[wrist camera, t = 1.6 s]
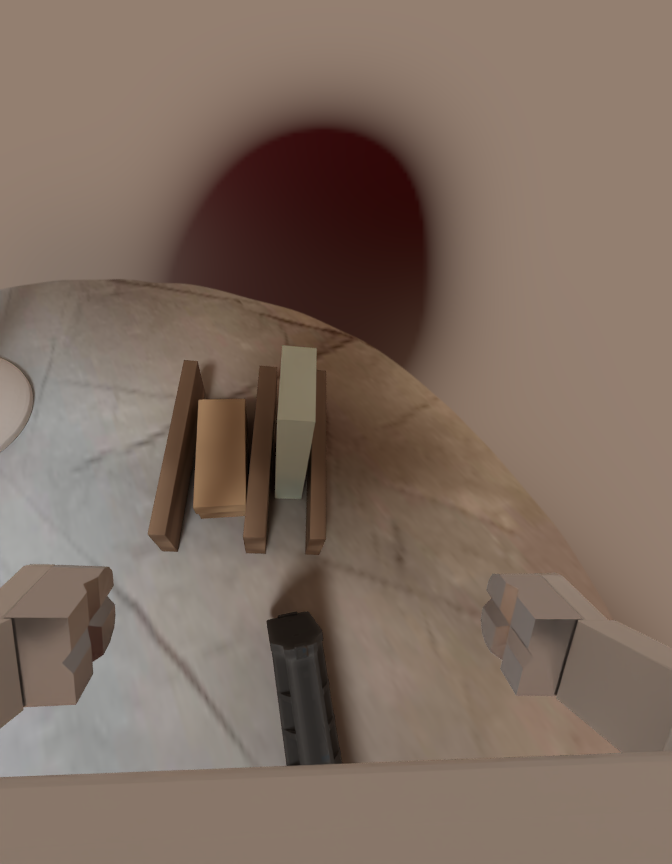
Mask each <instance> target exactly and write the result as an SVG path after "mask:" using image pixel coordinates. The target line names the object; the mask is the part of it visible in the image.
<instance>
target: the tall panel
mask: <svg viewBox="0 0 672 864" xmlns="http://www.w3.org/2000/svg"><path fill="white" fill-rule="evenodd" d="M316 355H317V348H308V347H296V346H284V345H282V356H281V370H280V385H279V400H278V415H277V442H276V476H275V498H284V499H301V498H302V492H303V487H304V481H305V476H306V470H307V465H308V459H309V454H310V449H311V443H312V438H313V432H314V427H315V417H316Z"/></svg>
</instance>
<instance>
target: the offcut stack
mask: <svg viewBox="0 0 672 864" xmlns="http://www.w3.org/2000/svg"><path fill="white" fill-rule="evenodd" d="M247 491H248V464H247V414H246V400H245V399H203V400H199V401H198V421H197V441H196V460H195V480H194V500H193V509H194V511H195V513H196V514H199V515H200V517H201V519H204V518H219V517H235V516H245V512H246V501H247Z"/></svg>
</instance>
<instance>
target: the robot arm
mask: <svg viewBox="0 0 672 864" xmlns="http://www.w3.org/2000/svg"><path fill="white" fill-rule="evenodd" d="M113 586H114V583H113V573H112V570H111V569H110V568H109V567H103V566H76V565H49V564H30V565H26V566H23V567H22V568H21V569H20V570H19V571H18V572H17V573H16V574H15V575H14V576H13V577H12V578H11V579H10V580H8V581H7V582H6V583H5V584H4V585H3V586H2V587H1V588H0V728H1V727H3V726H4V725H5V724H6V723H8V722H9V721H10V720H11V719H13V718H14V717H15V716H16V715H18V714H19V713H20V712H21V711H23V707H37V706H58V705H76V704H77V702H78V700H79V698H80V697H81V695H82V693H83V691H84V689H85V687H86V686H87V684H88V682H89V680H90V678H91V677H92V675H93V665H92V662H94V661H95V660H96V659H98V658H99V657H101V656H102V655H104V653H105V651H106V649H107V647H108V645H109V643H110V640H111V636H112V633H113V630H114V624H115V604H114V603H113V602H112V601H111V600H110V599H109V597H108V596H107V595H108V594H109V592H110V591H111V589H112V587H113ZM487 592H488V593H489V595H490V597H491V599H490V600H489V601H488V602H487V603H486V604H485V605H484V606H483V610H482V616H481V627H482V634H483V637H484V640H485V643H486V645H487V647H488V648H489V650H490V652H491V653H493V654H494V655H496V656H497V657H498V658H500V659H501V660H502V664H501V668H500V669H501V671H502V672H503V674H504V676H505V677H506V679H507V681H508V682H509V684H510V686H511V687H512V689H513V691H514V693H515V694H516V696H557V697H556V699H558V700H559V701H560V702H561V703H563V704H564V705H565V706H566V707H567V708H569V709H570V710H571V711H572V712H573V713H575V714H576V715H577V716H578V717H579V718H581V719H582V720H583V721H584V722H585V723H587V724H588V725H589V726H590V727H591V728H593V729H594V730H595V731H596V732H597V733H599V734H600V735H601V736H602V737H603V738H605V739H606V740H607V741H608V742H610V743H611V744H612V745H613V746H614V747H616V748H617V749H618V750H619V751H620V752H622V753H609V754H586V755H560V756H532V757H505V758H478V759H450V760H423V761H398V762H373V763H348V764H323V765H298V766H274V767H249V768H224V769H199V770H173V771H148V772H122V773H97V774H71V775H46V776H20V777H0V864H672V648H671V647H669V646H667V645H665V644H663V643H661V642H659V641H657V640H654V639H652V638H650V637H648V636H646V635H644V634H642V633H640V632H638V631H636V630H634V629H632V628H630V627H628V626H626V625H624V624H622V623H620V622H618V621H616V620H608V619H607V618H606V617H605V616H604V615H603V614H601V613H600V612H599V611H598V610H597V609H596V608H595V607H594V606H593V605H592V604H591V603H590V602H589V601H588V600H587V599H586V598H585V597H584V596H583V595H582V594H581V593H580V592H579V591H578V590H577V589H576V588H575V587H573V586H572V585H571V584H570V583H569V582H568V581H567V580H566V579H565V578H564V577H563V576H562V575H559V574H557V573H535V574H492V576H491V577H490V579H489V581H488V586H487Z"/></svg>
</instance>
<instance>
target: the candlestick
mask: <svg viewBox="0 0 672 864" xmlns="http://www.w3.org/2000/svg"><path fill="white" fill-rule="evenodd" d="M32 407H33V392H32V388H31V385H30V383H29V381H28V380H27V378H26V377H25V375H24V374H23V373H22V372H21V371H20V370H19V369H18V368H17V367H16V366H15V365H13V364H12V363H10V362H8V361H6V360H4V359H2V358H0V452H1V451H3V450H4V449H5V448H6V447H7V446H9V445H10V444H11V443H12V442H13V441H14V440H15V439H16V437H17V436H18V435H19V434H20V433H21V431H22V430H23V428H24V427H25V425H26V423H27V422H28V419H29V417H30V414H31V411H32Z"/></svg>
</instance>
